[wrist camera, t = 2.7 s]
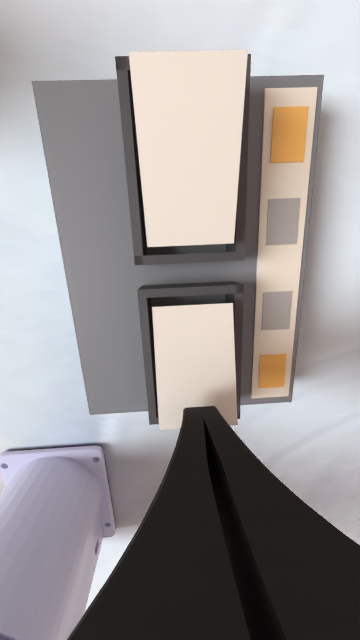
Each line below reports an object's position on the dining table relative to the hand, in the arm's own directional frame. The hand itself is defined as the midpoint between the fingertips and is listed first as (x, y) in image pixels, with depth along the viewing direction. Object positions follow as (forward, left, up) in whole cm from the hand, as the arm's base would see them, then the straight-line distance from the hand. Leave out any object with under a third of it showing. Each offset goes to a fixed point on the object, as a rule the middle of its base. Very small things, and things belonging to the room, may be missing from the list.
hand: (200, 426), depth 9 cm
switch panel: (+6, 0, -7) cm, 9 cm away
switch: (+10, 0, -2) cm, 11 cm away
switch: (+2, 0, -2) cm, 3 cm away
